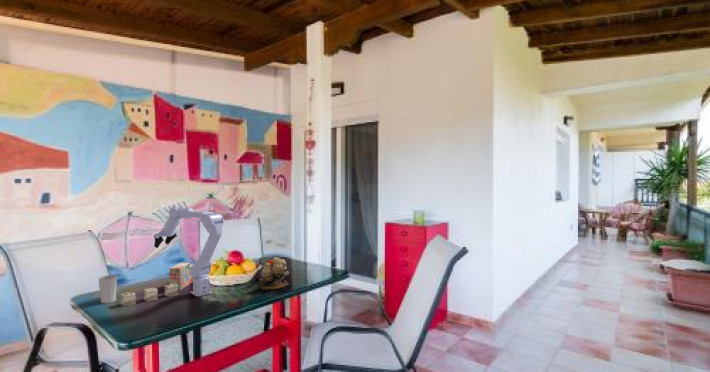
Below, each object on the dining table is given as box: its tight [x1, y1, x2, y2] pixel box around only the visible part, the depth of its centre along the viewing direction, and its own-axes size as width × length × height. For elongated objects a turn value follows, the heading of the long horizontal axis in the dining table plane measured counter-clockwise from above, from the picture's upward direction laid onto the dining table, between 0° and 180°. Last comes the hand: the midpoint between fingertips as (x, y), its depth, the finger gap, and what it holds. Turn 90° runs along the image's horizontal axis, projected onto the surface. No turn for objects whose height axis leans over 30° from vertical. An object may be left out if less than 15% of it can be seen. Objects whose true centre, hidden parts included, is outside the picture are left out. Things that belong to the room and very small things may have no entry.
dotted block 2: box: [164, 283, 179, 298], centre depth 196 cm, size 5×5×5 cm
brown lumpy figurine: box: [259, 256, 290, 291], centre depth 211 cm, size 18×12×17 cm, turn 134°
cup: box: [98, 274, 118, 304], centre depth 186 cm, size 8×8×12 cm
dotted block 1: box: [120, 291, 137, 307], centre depth 182 cm, size 5×5×5 cm
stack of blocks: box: [168, 262, 194, 291], centre depth 215 cm, size 21×6×12 cm, turn 179°
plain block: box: [143, 287, 159, 302], centre depth 189 cm, size 5×5×5 cm
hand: (161, 245), depth 209 cm, fingers open, 7 cm apart
